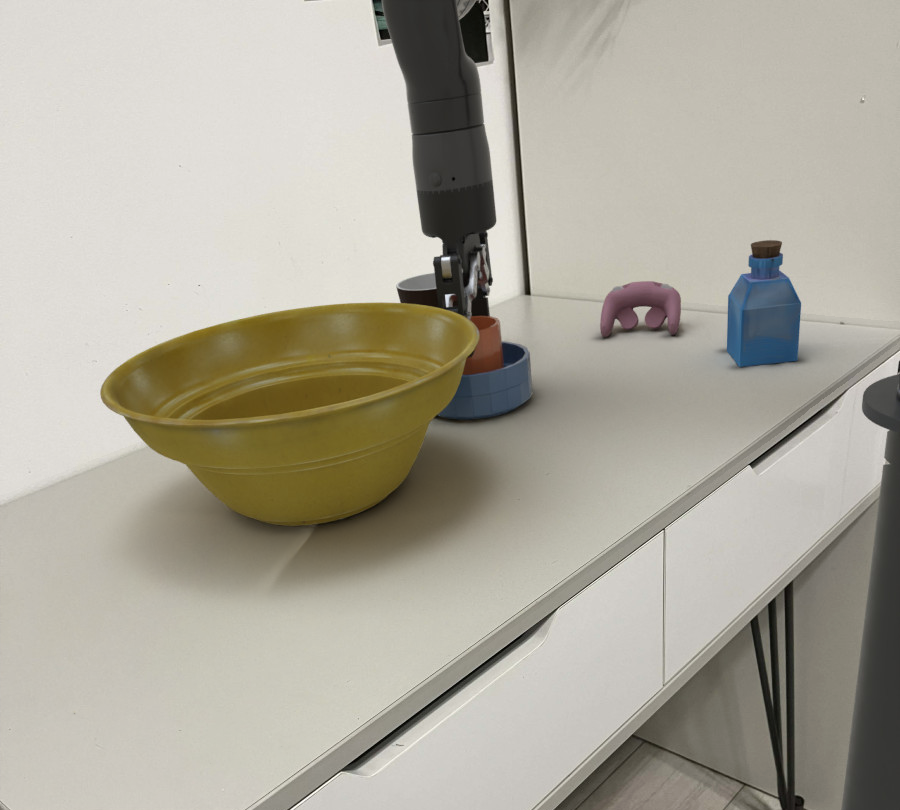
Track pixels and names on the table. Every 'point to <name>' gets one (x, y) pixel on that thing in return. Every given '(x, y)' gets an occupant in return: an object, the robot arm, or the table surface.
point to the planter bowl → (298, 403)
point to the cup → (486, 347)
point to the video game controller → (637, 295)
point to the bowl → (493, 388)
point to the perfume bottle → (763, 311)
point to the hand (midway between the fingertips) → (472, 344)
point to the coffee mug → (419, 290)
